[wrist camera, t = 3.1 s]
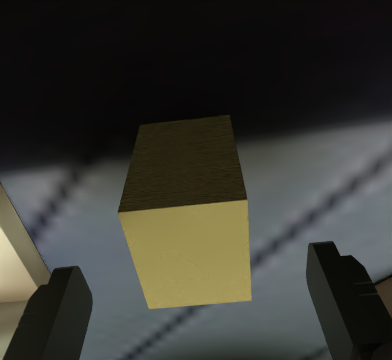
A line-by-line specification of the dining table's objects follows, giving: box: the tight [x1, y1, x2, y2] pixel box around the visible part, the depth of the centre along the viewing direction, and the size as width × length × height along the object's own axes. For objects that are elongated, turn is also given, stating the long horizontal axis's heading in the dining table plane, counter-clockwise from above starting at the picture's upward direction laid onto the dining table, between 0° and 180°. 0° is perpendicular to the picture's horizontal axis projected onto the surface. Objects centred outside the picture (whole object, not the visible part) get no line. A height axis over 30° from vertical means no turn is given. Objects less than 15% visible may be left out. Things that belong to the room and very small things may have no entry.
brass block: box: [118, 115, 251, 309], centre depth 15 cm, size 5×4×6 cm
